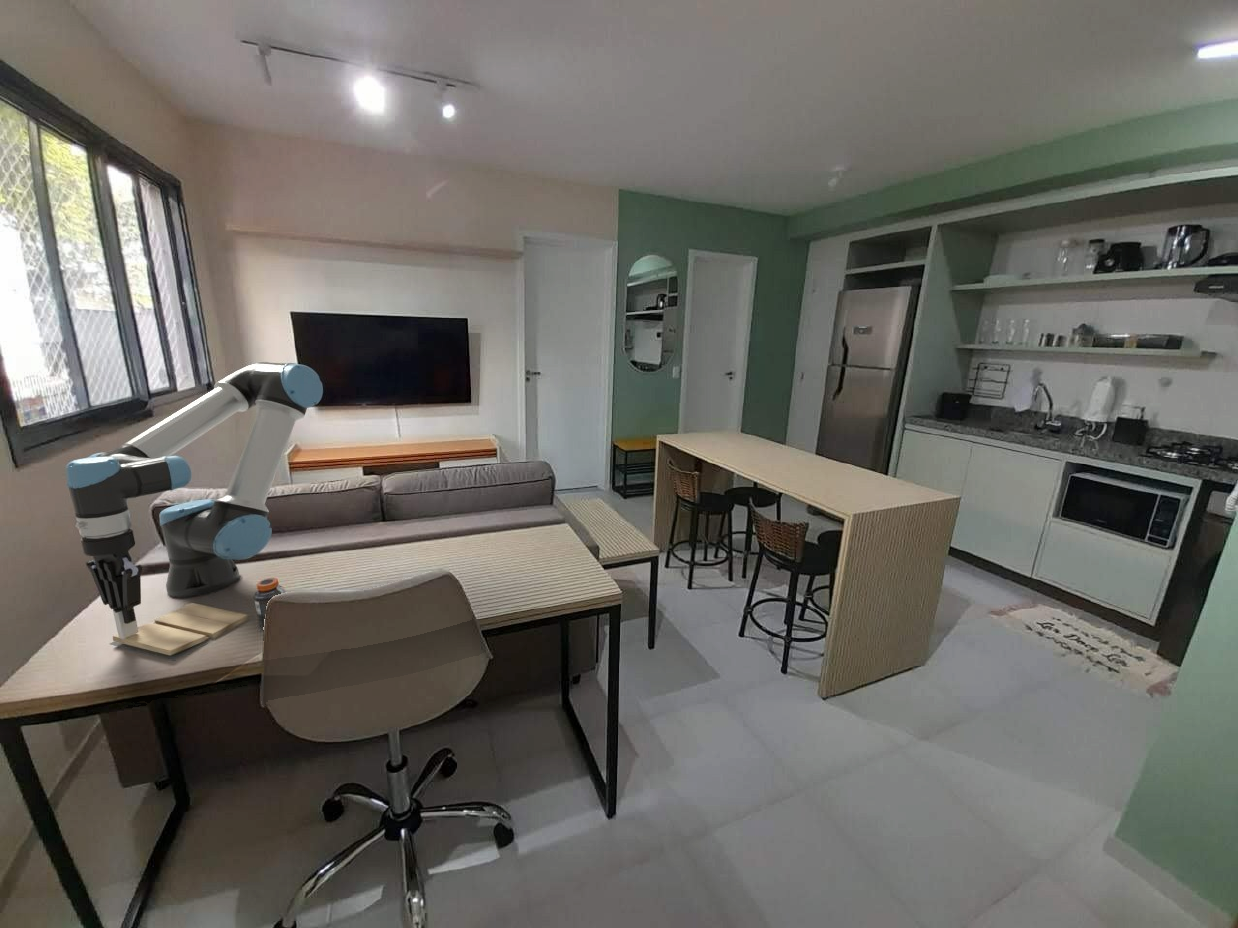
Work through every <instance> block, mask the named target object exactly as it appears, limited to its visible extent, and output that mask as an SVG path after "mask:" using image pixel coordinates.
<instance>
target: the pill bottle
mask: <svg viewBox="0 0 1238 928" xmlns="http://www.w3.org/2000/svg"><path fill="white" fill-rule="evenodd" d="M256 588H257V590H256V591H255V593H254V594H253V599H254V601H253V602H254V605H255V610H256V616H257V621H258V626H259V629H260V630H261V631H264V630H263V627H264V619H265V614H266V606H267V603H268V601H269V600H270V599H271V598H272V597H273V596H275V595H278V594H281V593H285V594H286V591H285V587H283V586H282V585H280V584H279V579H278V578H275V577H269V578H264V579H262V580H261V579H260V581H258V582H257V583H256Z"/></svg>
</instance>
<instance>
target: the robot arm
mask: <svg viewBox="0 0 1238 928" xmlns="http://www.w3.org/2000/svg"><path fill="white" fill-rule="evenodd" d="M323 394H324V388H323V383H322V381H321V380H320V376H319V374H318V373H317V372H316V371H315V370H314V369H313V368H311V366H310V367H309V366H307V365H306V364H305V365H304V364H298V363H294V362H286V363H285V362H280V363H279V362H267V361H263V362H255V363H252V364H249V365H246V366H244V367H242V368H240V369H237V370H236V371H234V372H232V373H230V374H229V375H227V376H224V378H222V379H220V380H219V381H217V382H215V384H214V385H213V389H212V390H211V391H209V392H207V393H205V394H204V395H201V396H200V397H199V398H197V399H196V400H194V401H192V402H190V403H189V404H188V405H186V406H184V407H182V408H181V409H179V410H178V411H176V412H174V413H172V414H171V415H170V416H167V417H166V418H164V419H163V420H161V421H159V422H157V423H155V425H153V426H151V427H150V428H148V429H146V430H144V431H143V432H141V433H140V434H139V435H137V436H135V437H133V438H131V439H130V440H128V441H127V442H125V443H123V444H122V445H120V446H118V447H117V448H114V449H113V450H112V451H105V452H98V453H94V454H90V456H88V457H85V458H79V459H74V460H72V461H70V462H68V463H67V464H66V466H65V475H66V485H67V487H68V489H69V494H70V498H71V501H72V505H73V509H74V514H75V519H76V524H75V527H76V528H77V529H78V532H79V535H80V536H82V538H80V542H81V547H82V551H83V554H84V555H85V556H88V557H93V559H92V560H89V561H86V562H85V565H86V568H88V570H89V572H90V573H91V576H92V578H93V581H94V584H95V586H96V588H97V592H98V594H99V596H100V599H101V601H102V604H103V605H105V606H107V605H108V607H109V609H110V610H112V611H113V612H112V613H113V616H114V622H115V626H116V631H117V634H118V636H119V638H122V639H125V638H127V637H129V636H131V635H134V634H136V633H138V632H139V631H138V627H139V626H138V622H137V618H136V613H135V607H136V606H140V605H141V603H142V599H141V598H142V589H141V587H142V586H141V585H142V584H141V581H142V580H141V577H142V576H141V574H142V571H143V566H142V565H141V564H138V565H136V566H135V564H134V563H133V562H132V561H133V560H132V557H131V555H130V553H129V551H130V550H131V549H132V548H134V547H135V545H136V540H135V536H134V530H132V529H131V528H132V526H133V524H132V521H131V519H132V518H131V516H130V511H129V509H130V508H129V507H128V506H129V505H128V500H130V499H131V500H132V499H136V498H141V497H144V496H150V495H153V494H159V493H165V492H169V491H170V492H171V491H174V490H176V489H180V488H184V487H186V486H187V485H189V484H190V482H191V480H192V472H191V466H190V465H189V463H188V462H187V460H185V459H184V458H183V457H181V456H179V455H174V454H176V453H177V452H179V451H180V450H182V449H183V448H185V447H186V446H188V445H189V444H191V443H192V442H194V441H195V440H197V439H198V438H200V437H202V436H203V435H204V434H207V432H209V431H210V430H211V429H213V428H215V427H216V426H218V425H219V424H221V423H223V422H224V421H225V420H227V419H228V418H229V417H231V416H233V415H234V414H236V413H238V412H239V413H243V412H246V411H249V409H251V408H252V407H255V406H256V407H257V408H258V413H257V416H256V418H255V420H254V423H253V425H252V427H251V430H250V433H249V435H248V437H247V439H246V443H245V445H244V447H243V450H242V452H241V455H240V457H239V460H238V463H237V464H236V468H235V470H234V472H233V475H232V476H231V479H230V482H229V485H228V488H227V490H226V492H225V494H224V495H223V496H222V497H219V498H217V499H210V498H205V499H198V500H191V501H187V502H183V503H179V504H175V505H171V506H170V507H167V508H164V509H163V510H161V512H160V513H159V526H160V528H161V533H162V535H163V539H164V540H163V541H164V545H165V549H166V554H167V557H168V561H169V569H168V574H167V579H166V583H165V588H166V592H167V595H168V596H169V597H171V598H175V599H189V598H197V597H202V596H207V595H210V594H213V593H216V592H219V591H222V590H224V589H227V588H229V587H230V586H232V585H233V584H235V583H236V582H238V580H239V579H240V577H241V576H240V571H239V568H238V566H237V565H236V564H235V562H234V561H233V560H241V561H242V560H247V559H250V558H252V557H254V556H255V555H257V554H259V553H260V552H262V550H263V549H264V548H265V547H267V545H268V544H269V542H270V539H271V536H272V533H273V532H272V530H273V529H272V527H271V523H270V521H269V520H268V519H267V518H268V516H269V512H270V511H269V509H268V507H267V506H266V501H267V499H268V496H269V493H270V490H271V488H272V485H273V482H274V479H275V476H276V474H277V471H278V469H279V466H280V464H281V460H282V458H283V455H284V453H285V450H286V448H287V446H288V445H287V444H288V442H289V439H290V437H291V434H292V431H293V429H294V426H295V424H296V422H297V421H298V420H301V419H304V418H305V415H306V413H307V411H308V410H307V409H308V408H309V409H310V408H311V407H314V406H316V405H318V404H319V402H320V401H321V400H322V397H323Z"/></svg>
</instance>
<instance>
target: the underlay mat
mask: <svg viewBox="0 0 1238 928" xmlns="http://www.w3.org/2000/svg"><path fill="white" fill-rule="evenodd" d="M253 618H254V617H253V616H249V615H248V620H246V621H244V622H243V623H241V624H239V625H237V626H235V627H234V628H232V629H230V630H228V631H226V632H224V633H223V634H221V635H219V636H217V637H215V638H210V637H209V639H208V640H206V641H204V642H201V643H199V644H196V645H194V646H192V647H189V648H187V649H185V650H182V651H180V652H177V653H175V654H173V655H166V654H162V653H158V652H154V651H151V650H147V649H143V648H139V647H135V646H131V645H127V644H123V643H119V642H115V641H112V642H110V643H109V645H112V646H116V647H120V648H122V649H123V648H124V649H128V650H130V651H135V652H139V653H142V654H143V653H144V654H146V655H151V656H154V657H158V658H163V659H166V660H170V661H177V660H179V659H181V658H183V657H184V656H186V655H188V654H191V653H192V652H193V651H195V650H197V649H199V648H201V647H202V646H204V645H206V644H208V643H210V642H213V641H214V640H215V639H218V638H219V637H221V636H223V635H225V634H226V633H228V632H230V631H232V630H233V629H235V628H237V627H239V626H241V625H243V624H244V623H246V622H248V621H250V620H252V619H253ZM153 623H155V621H154V622H153Z"/></svg>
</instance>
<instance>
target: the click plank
mask: <svg viewBox="0 0 1238 928" xmlns="http://www.w3.org/2000/svg"><path fill="white" fill-rule="evenodd" d="M138 631H139V632H138V633H136V634H134V635H131V636H129V637H127V638H125V639H122V638H119V636H118V633H117V634H114V635H113V636H112V642H114V641H115V642H119V643H123V644H127V645H131V646H135V647H139V648H143V649H147V650H151V651H154V652H158V653H162V654H166V655H173V654H175V653H177V652H180V651H182V650H185V649H187V648H189V647H192V646H194V645H196V644H199V643H201V642H204V641H206V640H208V639H209V637H206V636H205V635H201V634H197V633H193V632H189V631H184V630H180V629H176V628H172V627H167V626H163V625H159V624H155V623H154V622H149V623H147V624H143V625H141V626H138Z"/></svg>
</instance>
